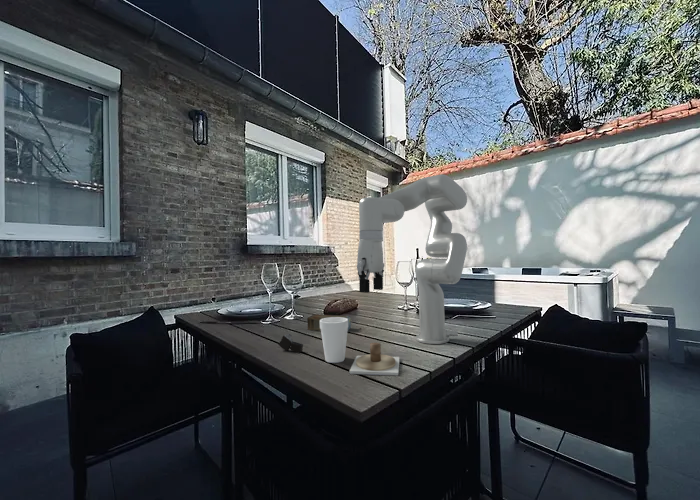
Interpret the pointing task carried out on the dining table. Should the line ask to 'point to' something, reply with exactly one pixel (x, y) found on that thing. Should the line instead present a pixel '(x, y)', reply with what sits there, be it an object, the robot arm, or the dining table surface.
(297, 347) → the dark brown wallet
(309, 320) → the beverage carton
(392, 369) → the mat
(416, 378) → the dining table surface
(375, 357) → the lid
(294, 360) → the dining table surface
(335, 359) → the foam cup
